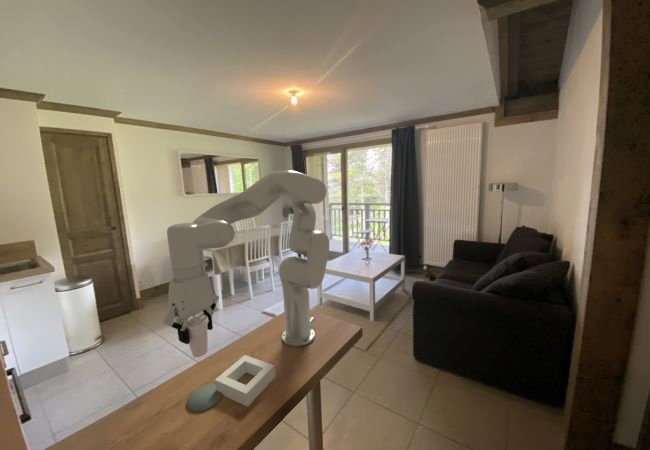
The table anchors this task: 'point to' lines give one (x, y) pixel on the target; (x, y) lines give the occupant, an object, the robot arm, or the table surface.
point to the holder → (250, 391)
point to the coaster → (203, 398)
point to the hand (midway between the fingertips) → (196, 334)
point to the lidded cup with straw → (198, 334)
